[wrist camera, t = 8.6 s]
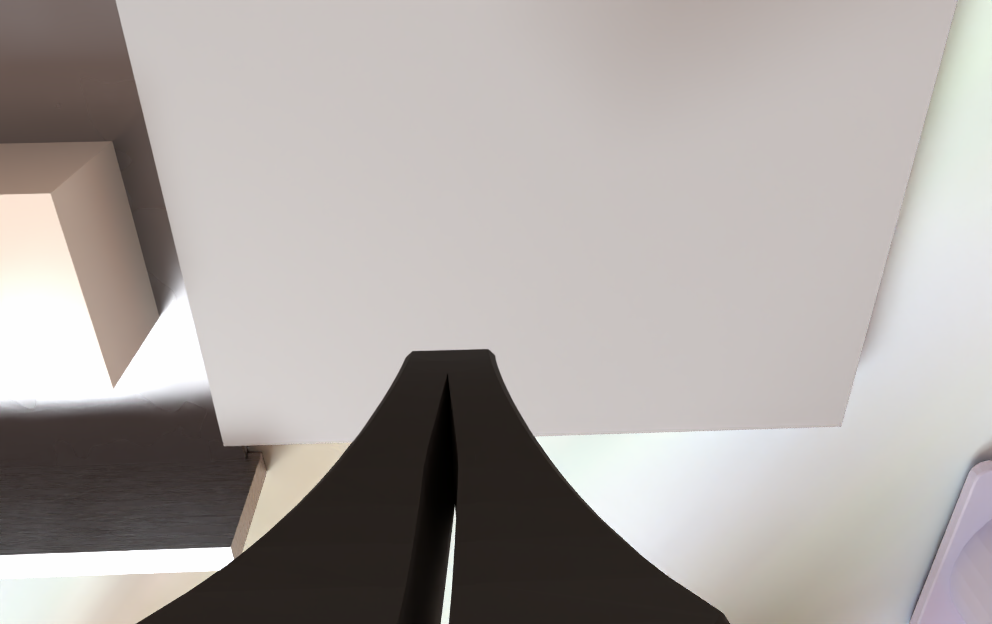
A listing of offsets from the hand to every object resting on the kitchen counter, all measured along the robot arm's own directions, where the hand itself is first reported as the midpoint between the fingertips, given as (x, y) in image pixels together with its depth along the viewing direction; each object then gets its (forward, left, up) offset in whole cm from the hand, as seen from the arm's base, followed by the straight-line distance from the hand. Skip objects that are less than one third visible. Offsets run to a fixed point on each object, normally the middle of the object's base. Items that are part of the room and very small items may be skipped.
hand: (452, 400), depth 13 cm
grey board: (-2, 0, -7) cm, 7 cm away
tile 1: (+10, 0, -7) cm, 12 cm away
